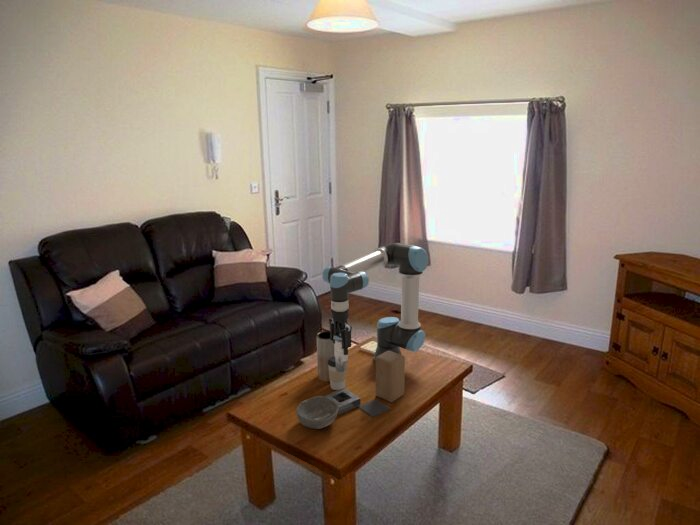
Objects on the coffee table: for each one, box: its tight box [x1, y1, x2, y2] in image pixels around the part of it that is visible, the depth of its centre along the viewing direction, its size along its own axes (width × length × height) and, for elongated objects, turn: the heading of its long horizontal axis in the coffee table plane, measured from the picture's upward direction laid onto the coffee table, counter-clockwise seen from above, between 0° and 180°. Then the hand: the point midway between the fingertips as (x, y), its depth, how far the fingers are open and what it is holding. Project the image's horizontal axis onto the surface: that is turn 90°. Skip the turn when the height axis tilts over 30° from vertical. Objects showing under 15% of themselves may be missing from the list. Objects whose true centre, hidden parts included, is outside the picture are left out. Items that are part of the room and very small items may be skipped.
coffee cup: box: [328, 356, 347, 391], centre depth 237 cm, size 9×9×15 cm
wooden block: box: [375, 351, 406, 403], centre depth 227 cm, size 10×10×20 cm
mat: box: [358, 399, 391, 418], centre depth 219 cm, size 10×10×1 cm
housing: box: [323, 387, 362, 415], centre depth 223 cm, size 12×12×4 cm
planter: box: [316, 330, 334, 382], centre depth 245 cm, size 10×10×23 cm
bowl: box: [295, 395, 339, 430], centre depth 208 cm, size 18×18×8 cm
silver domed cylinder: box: [334, 334, 348, 372], centre depth 217 cm, size 6×6×16 cm
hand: (341, 358), depth 217 cm, fingers closed on silver domed cylinder, 5 cm apart
